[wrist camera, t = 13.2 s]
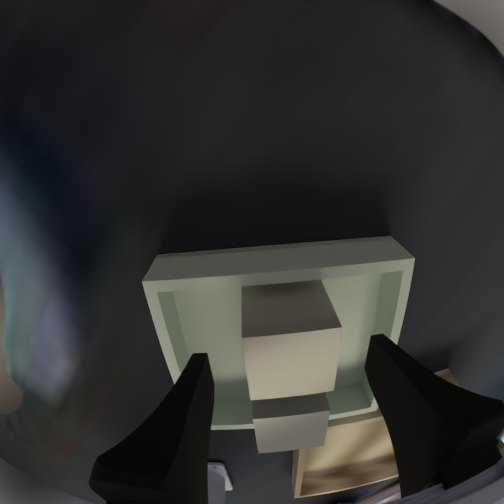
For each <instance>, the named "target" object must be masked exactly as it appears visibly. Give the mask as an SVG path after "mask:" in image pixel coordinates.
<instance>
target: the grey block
mask: <svg viewBox="0 0 504 504" xmlns="http://www.w3.org/2000/svg"><path fill="white" fill-rule="evenodd" d="M252 408H253V423H254V429H255V435H256V441H257V447H258V453H268V452H279V451H289V450H297V449H305V448H312V447H318V446H324V442H325V437H326V432H327V426H328V421H329V415H330V407H329V403H328V400H327V396H326V392H322V393H315V394H308V395H300V396H292V397H283V398H273V399H261V400H252Z"/></svg>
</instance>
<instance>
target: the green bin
mask: <svg viewBox="0 0 504 504" xmlns="http://www.w3.org/2000/svg"><path fill="white" fill-rule="evenodd" d="M414 261H415V258H414V257H413V256H412V255H411V254H410V253H409V252H408V251H407V250H405V249H404V248H403V247H402V246H401V245H400V244H399V243H398V242H397V241H396V240H394V239H393V238H392V237H391V236H381V237H368V238H356V239H343V240H330V241H317V242H305V243H292V244H280V245H268V246H255V247H243V248H231V249H219V250H207V251H195V252H183V253H172V254H160V255H157V256H156V258H155V260H154V262H153V263H152V265H151V267H150V268H149V270H148V272H147V274H146V275H145V277H144V279H143V281H142V283H143V287H144V291H145V295H146V298H147V302H148V305H149V309H150V312H151V316H152V319H153V322H154V325H155V329H156V332H157V335H158V338H159V341H160V344H161V348H162V351H163V354H164V357H165V359H166V362H167V365H168V368H169V371H170V374H171V377H172V379H173V382H174V384H175V383H176V381H177V379H178V378H179V376H180V375H181V373H182V371H183V370H184V368H185V366H186V364H187V363H188V361H189V359H190V357H191V355H192V354H193V353H207V354H208V358H209V363H210V367H211V371H212V375H213V380H214V384H215V387H214V409H213V417H212V424H211V430H230V429H252V428H254V423H253V408H252V400H250V394H249V387H248V380H247V373H246V366H245V359H244V352H243V345H242V286H254V285H266V284H278V283H289V282H300V281H311V280H321V281H322V283H323V285H324V287H325V290H326V292H327V294H328V296H329V299H330V301H331V303H332V305H333V308H334V310H335V312H336V314H337V317H338V319H339V321H340V324H341V326H342V333H341V341H340V350H339V358H338V365H337V373H336V380H335V386H334V391H329V392H326V396H327V400H328V403H329V407H330V415H329V420H331V419H337V418H343V417H348V416H353V415H358V414H363V413H368V412H372V411H377V408H378V404H377V402H376V400H375V398H374V395H373V393H372V391H371V388H370V386H369V382H368V379H367V376H366V372H365V368H364V366H365V362H366V357H367V352H368V347H369V342H370V337H371V335H376V334H382V333H383V334H384V335H386V336H387V337H388V338H389V339H391V340H392V341H393V342H394V343H395V344H396V345H397V343H398V339H399V335H400V331H401V327H402V323H403V318H404V314H405V309H406V305H407V300H408V295H409V290H410V284H411V279H412V273H413V267H414Z"/></svg>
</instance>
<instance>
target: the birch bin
mask: <svg viewBox="0 0 504 504" xmlns="http://www.w3.org/2000/svg"><path fill="white" fill-rule="evenodd" d="M434 373H435V374H436V375H438V376H440V377H441V378H443V379H445V380H447V381H448V382H450V383H452V384H454V385H456V386H459V387H460V385H459V384H458V382H457V381H456V379H455V378H454V376H453V375H452V373H451V371H450V370H449V368H447V369H444V370H441V371H437V372H434ZM397 476H399V475H398V469H397V464H396V459H395V455H394V450H393V446H392V442H391V439H390V435H389V432H388V428H387V426H386V423H385V421H384V418H383V416H382V414H381V411H380V409H379V407H378V408H377V411H372V412H368V413H363V414H358V415H353V416H348V417H343V418H337V419H331V420H329V421H328V426H327V432H326V437H325V442H324V446H318V447H312V448H305V449H297V450H293V464H292V484H293V493H294V498H300V497H307V496H314V495H320V494H326V493H332V492H337V491H342V490H347V489H352V488H356V487H360V486H364V485H368V484H372V483H376V482H380V481H383V480H387V479H390V478H393V477H397Z"/></svg>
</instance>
